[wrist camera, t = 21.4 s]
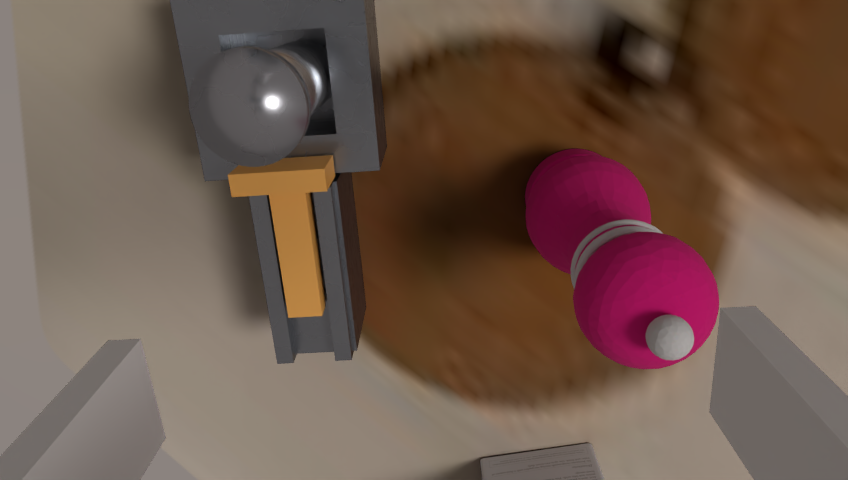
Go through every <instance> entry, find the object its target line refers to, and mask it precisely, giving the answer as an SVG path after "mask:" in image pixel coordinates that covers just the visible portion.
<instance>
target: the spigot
mask: <svg viewBox="0 0 848 480" xmlns="http://www.w3.org/2000/svg"><path fill="white" fill-rule="evenodd" d="M331 95H332V90H331V82H330V73H329V64H328V56H327V49H326V48H325V47H324V46H322V45H321V44H319V43H317V42H314V41H311V40H296V41H292V42H289V43H286V44H283V45H280V46H277V47H274V48H271V49H265V48H262V47H256V46H241V47H236V48H232V49H228V50H225V51H222V52H220V53H217V54H215V55H214V56H212V57H211V58H209V59H208V60H207V61H206V62H205V63H204V64H203V65H202V66H201V67H200V68H199V70H198V71H197V73H196V74H195V76H194V79H193V81H192V84H191V87H190V92H189V112H190V116H191V120H192V123H193V125H194V128H195V130H196V132H197V133H198V135H199V137H200V138H201V140H202V141H203V142H204V143H205V144H206V146H207V147H208V148H209V149H210V150H212V151H213V152H214V153H215V154H217V155H218V156H219V157H221V158H223V159H225V160H227V161H229V162H231V163H234V164H237V165H241V166H247V167H260V166H266V165H270V164H273V163H275V162H278V161H279V160H281V159H283V158H284V157H286V156H287V155H288V154H289V153H291V151H292V150H293V149H294V148H295V147H296V146H297V145H298V144H299V143H300V141H301V140H302V139H303V137H304V135H305V133H306V131H307V129H308V126H309V122H310V118H311V115H312V114H313V113H314V112H315V111H316V110H317V109H318V108H319V107H320V106H322V105H323V104H324V103H325V102H326V101H327V100H328V99H329V98H330V97H331Z"/></svg>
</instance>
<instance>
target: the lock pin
mask: <svg viewBox="0 0 848 480" xmlns="http://www.w3.org/2000/svg"><path fill="white" fill-rule="evenodd" d="M334 177H335V170H334V161H333V155H325V156H309V157H293V158H283V159H281V160H279V161H278V162H275V163H273V164H270V165H266V166H260V167H247V166H241V165H238V166H237V167H236V168H235V169H234V170H233V171H231V172H230V173H229V174H228V179H229V185H230V190H231V196H232V197H243V196H259V195H269V199H270V205H271V211H272V218H273V224H274V230H275V237H276V243H277V249H278V255H279V262H280V268H281V274H282V281H283V287H284V293H285V299H286V306H287V312H288V318H295V317H313V316H322V315H323V312H324V309H325V307H326V302H325V294H324V287H323V280H322V272H321V265H320V257H319V250H318V243H317V235H316V228H315V220H314V213H313V205H312V198H311V192H325V191H328V189H329V187H330V185H331V183H332V181H333V179H334Z"/></svg>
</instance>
